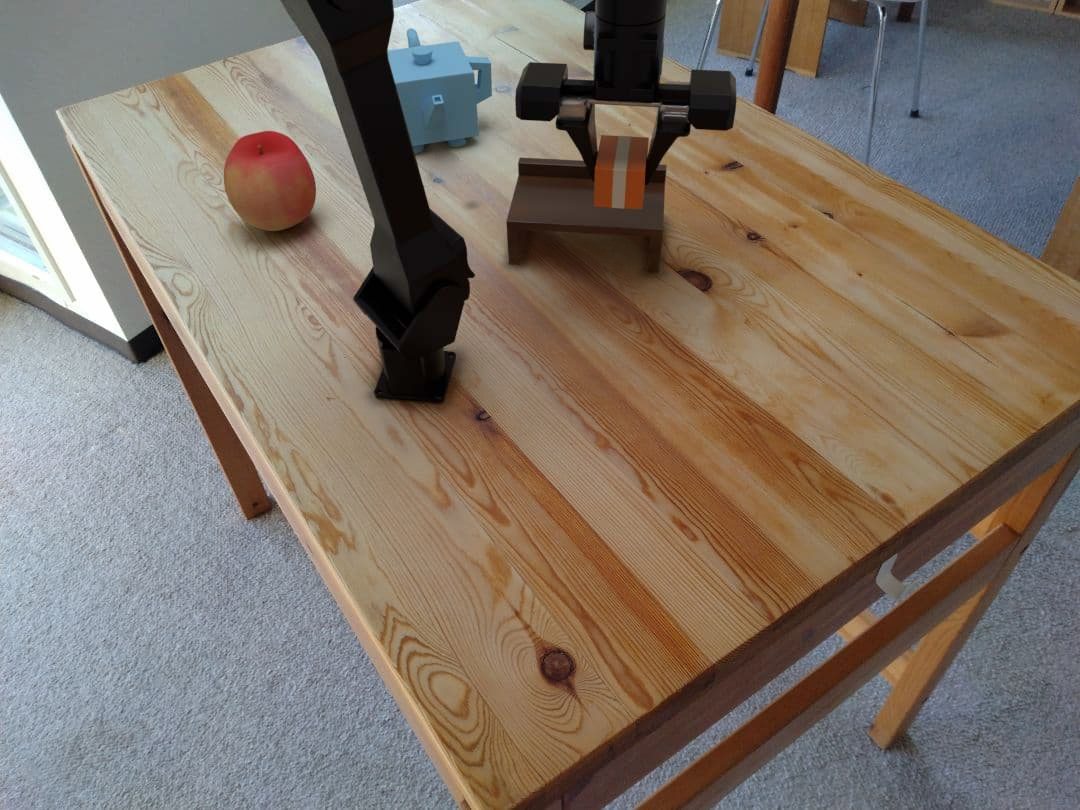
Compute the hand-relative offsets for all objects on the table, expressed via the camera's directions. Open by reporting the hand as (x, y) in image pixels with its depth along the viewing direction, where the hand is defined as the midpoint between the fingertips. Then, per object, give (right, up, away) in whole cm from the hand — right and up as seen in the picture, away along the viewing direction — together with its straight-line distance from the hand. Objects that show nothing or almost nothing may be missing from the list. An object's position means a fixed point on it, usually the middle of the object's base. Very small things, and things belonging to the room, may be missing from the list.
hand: (621, 181), depth 80 cm
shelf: (-2, -3, +14) cm, 14 cm away
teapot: (-22, +14, +31) cm, 40 cm away
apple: (-37, -1, +17) cm, 41 cm away
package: (0, -1, +1) cm, 1 cm away
